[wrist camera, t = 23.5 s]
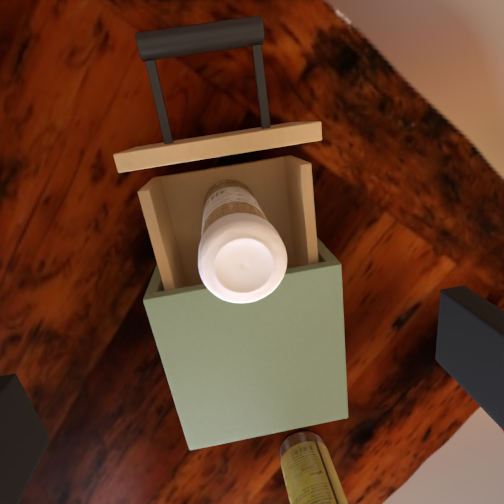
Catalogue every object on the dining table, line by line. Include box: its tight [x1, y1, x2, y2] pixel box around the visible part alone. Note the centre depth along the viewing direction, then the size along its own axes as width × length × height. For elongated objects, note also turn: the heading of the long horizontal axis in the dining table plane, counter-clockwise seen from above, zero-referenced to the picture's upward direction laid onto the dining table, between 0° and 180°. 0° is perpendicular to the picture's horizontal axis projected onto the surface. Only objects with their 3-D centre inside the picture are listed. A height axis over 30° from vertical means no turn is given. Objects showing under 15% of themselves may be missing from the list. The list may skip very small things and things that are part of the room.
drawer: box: [113, 15, 322, 291], centre depth 26 cm, size 21×14×7 cm, turn 8°
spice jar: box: [198, 179, 287, 303], centre depth 23 cm, size 5×5×14 cm
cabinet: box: [143, 238, 348, 450], centre depth 31 cm, size 16×15×9 cm
